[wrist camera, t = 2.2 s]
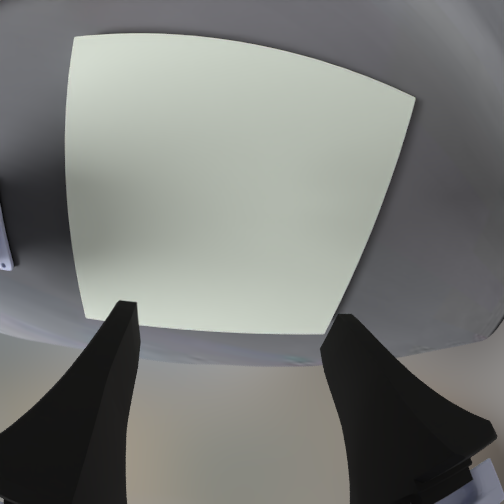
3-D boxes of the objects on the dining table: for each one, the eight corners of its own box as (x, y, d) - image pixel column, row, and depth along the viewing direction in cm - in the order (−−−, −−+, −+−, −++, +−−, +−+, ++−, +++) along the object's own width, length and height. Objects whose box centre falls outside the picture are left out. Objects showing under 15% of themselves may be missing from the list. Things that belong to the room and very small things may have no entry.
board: (90, 305, 22) (86, 317, 21) (84, 39, 12) (74, 36, 10) (319, 321, 26) (324, 334, 25) (402, 94, 16) (415, 97, 15)
